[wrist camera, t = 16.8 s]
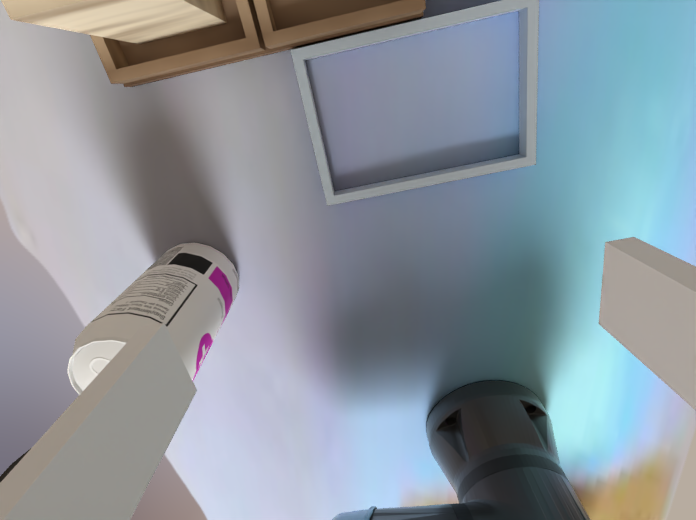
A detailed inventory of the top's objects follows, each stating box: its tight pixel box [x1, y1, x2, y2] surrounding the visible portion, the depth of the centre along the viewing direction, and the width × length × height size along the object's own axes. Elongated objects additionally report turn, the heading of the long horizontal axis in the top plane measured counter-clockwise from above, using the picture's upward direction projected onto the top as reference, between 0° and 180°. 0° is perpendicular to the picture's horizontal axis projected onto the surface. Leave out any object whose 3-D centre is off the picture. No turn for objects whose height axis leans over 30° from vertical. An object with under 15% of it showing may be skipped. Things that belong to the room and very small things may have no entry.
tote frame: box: [290, 0, 539, 206], centre depth 31 cm, size 13×19×2 cm
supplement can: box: [67, 243, 239, 395], centre depth 31 cm, size 8×8×15 cm
